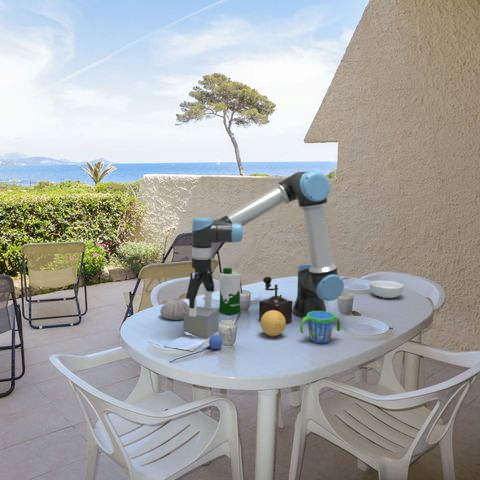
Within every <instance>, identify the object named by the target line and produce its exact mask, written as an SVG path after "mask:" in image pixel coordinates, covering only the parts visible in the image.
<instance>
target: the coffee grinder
mask: <svg viewBox="0 0 480 480" xmlns="http://www.w3.org/2000/svg"><path fill="white" fill-rule="evenodd" d="M272 279H273V278H272V277H271V276H265V277H263V278H262V281H263V283H264V284H265V285H264V287H265V288H264V289H265V291H274V295H273V296H271V297H269V298H266V299H262V300H260V301H259V302H258V303H259V306H258V307H259V308H258V309H259V312H258V314H259V315H258V317H259V319H258V322H259V323H260V322H261V318H262V316H263V315H264V314H265V313H266V312H268V311H271V310H275V311H279V312H281V314H282V315H283V316H284V317H285V319H286V320H285V321H286V325H289V324H291V323H292V322H293V300H289V299H287V298H284V297H283V296H282V294H280V295H278V289H279V288H278V286H279V285H278V284H274V288H271V287H272V284H271V282H272Z"/></svg>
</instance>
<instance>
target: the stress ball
mask: <svg viewBox="0 0 480 480" xmlns="http://www.w3.org/2000/svg"><path fill="white" fill-rule="evenodd" d="M285 320H286V319H285V317H284V316H283V315H282V314H281V312H279V311H275V310H271V311H268V312H266V313H265V314H264V315H263V316H262V318H261V322H259V323H260V328H261V330H262V332H264V334H265V335H267V336H269V337H272V338H274V337H277V336H279V335H281V334H282V333H283V332H284V331H285V329H286V327H287V324H286V321H285Z"/></svg>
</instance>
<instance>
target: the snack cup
mask: <svg viewBox="0 0 480 480" xmlns="http://www.w3.org/2000/svg"><path fill="white" fill-rule="evenodd" d="M335 319H337V321H336V331H337V332H340V331H341V328H342V327H341V326H342V325H341V320H340V318H339V317H338V316H336V315H335V314H334V313H332V312H330V311H326V312H325V311H312V312H309V313H307V316H306V317H302V320H301V321H300V326H299V328H300V333H301V334H304V323H305V322H306V321H307V325H308V333H309V339H310V341H311V342H313V343H314V344H327V343H330V340H331V338H332V333H333V327H334V322H335Z"/></svg>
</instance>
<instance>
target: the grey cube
mask: <svg viewBox="0 0 480 480" xmlns="http://www.w3.org/2000/svg"><path fill="white" fill-rule="evenodd" d="M219 313H220V312H219V308H212V307H211V308H209V307H203V306H198V305H197V306H196V317H194V316H189V310H188V311H186V312H185V313H184V319H183V332H184V331H185V332H188V333H190V334H192V335H194V336H198V337H197V338H199V337H201V338H200V339H205V340H209V339H210V337H211V336H213V335H215V334H216V333H217V332H218V331H219V316H220V315H219Z"/></svg>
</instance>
